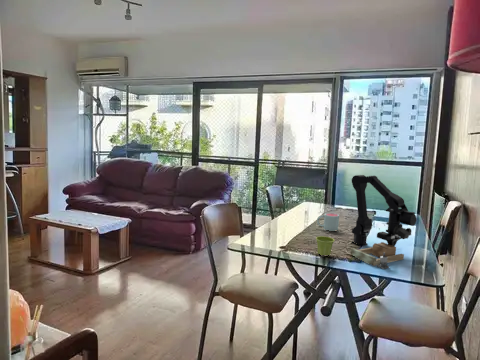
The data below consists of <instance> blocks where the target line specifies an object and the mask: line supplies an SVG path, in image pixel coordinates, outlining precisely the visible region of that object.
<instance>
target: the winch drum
mask: <svg viewBox="0 0 480 360" xmlns="http://www.w3.org/2000/svg"><path fill="white" fill-rule="evenodd" d="M387 258H388V257H387V256H385V253H383V256H380V264H378V265H376V267H377V268H379V269H382V270H386V269H390V266H389V265H388V263H387Z"/></svg>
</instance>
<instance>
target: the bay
mask: <svg viewBox="0 0 480 360" xmlns="http://www.w3.org/2000/svg"><path fill="white" fill-rule="evenodd" d="M372 249H373V246H371V247H366V248H359V249H356V248H354V247H352V248H351V247H350V254H351V255H353V256H355V257H357V258H359V259H360V260H359V259H358V260H359V261H361V260H362V261H361V262H363V261H364V263H366V264H368V265H371V266H372V267H377V265H378V264H380V258H379V257H378V258H377V256H374V255H372ZM404 258H405V254H404V253H398V254H397V253H396V254H395V255H393V256H388V258H387V264H388V263H393V262H398V261H401V260H404Z"/></svg>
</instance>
